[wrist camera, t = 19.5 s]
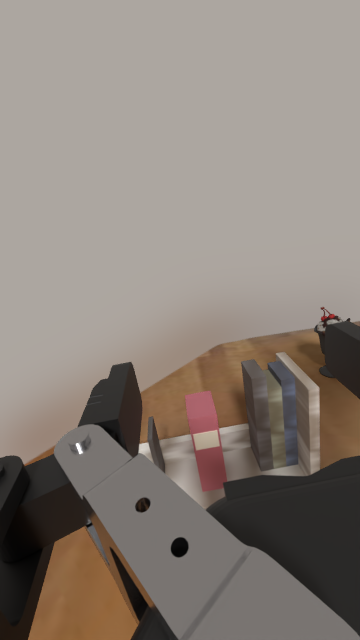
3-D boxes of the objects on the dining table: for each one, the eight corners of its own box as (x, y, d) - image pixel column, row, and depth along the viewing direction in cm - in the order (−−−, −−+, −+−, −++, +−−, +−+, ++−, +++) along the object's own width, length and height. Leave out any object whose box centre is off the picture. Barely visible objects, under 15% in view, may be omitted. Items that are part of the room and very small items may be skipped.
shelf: (289, 440, 45) (283, 348, 39) (320, 492, 36) (319, 383, 31) (129, 472, 45) (101, 383, 39) (122, 531, 36) (85, 429, 30)
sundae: (308, 372, 62) (306, 307, 57) (327, 360, 64) (327, 298, 59) (337, 384, 56) (338, 314, 51) (356, 371, 59) (359, 303, 54)
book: (221, 457, 42) (210, 390, 38) (228, 488, 37) (216, 415, 33) (198, 462, 42) (185, 395, 38) (202, 492, 37) (188, 420, 33)
